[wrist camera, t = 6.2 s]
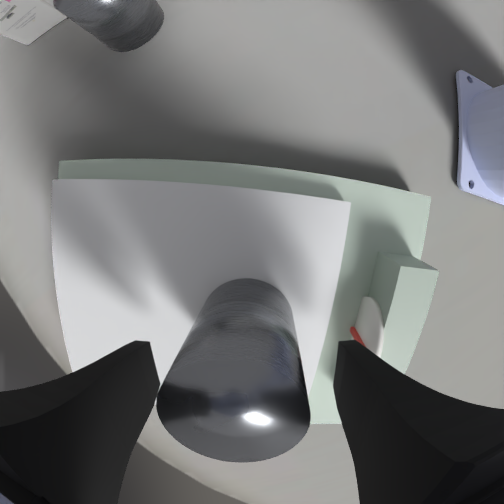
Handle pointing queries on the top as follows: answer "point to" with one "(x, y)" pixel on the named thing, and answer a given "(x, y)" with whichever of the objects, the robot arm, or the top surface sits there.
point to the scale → (237, 258)
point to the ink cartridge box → (27, 19)
